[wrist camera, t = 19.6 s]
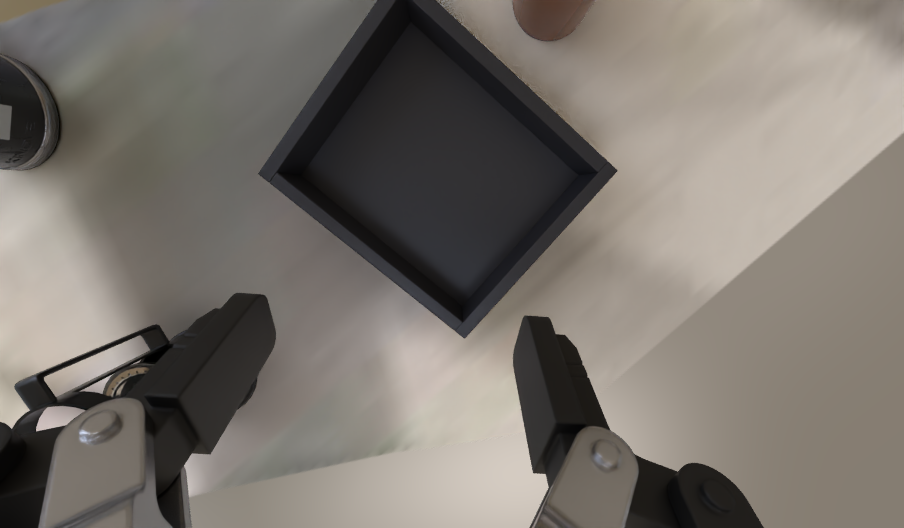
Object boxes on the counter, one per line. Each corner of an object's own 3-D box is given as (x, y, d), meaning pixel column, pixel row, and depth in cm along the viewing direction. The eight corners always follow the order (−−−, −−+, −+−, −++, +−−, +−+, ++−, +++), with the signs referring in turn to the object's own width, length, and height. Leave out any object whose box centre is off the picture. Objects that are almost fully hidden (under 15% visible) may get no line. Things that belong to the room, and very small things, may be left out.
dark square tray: (291, 177, 30) (257, 173, 25) (410, 8, 27) (399, -34, 22) (463, 316, 32) (464, 339, 27) (591, 175, 29) (618, 170, 24)
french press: (277, 400, 34) (-82, 801, 11) (198, 430, 35) (-278, 855, 12) (219, 297, 32) (-358, 539, 9) (136, 331, 33) (-570, 627, 10)
